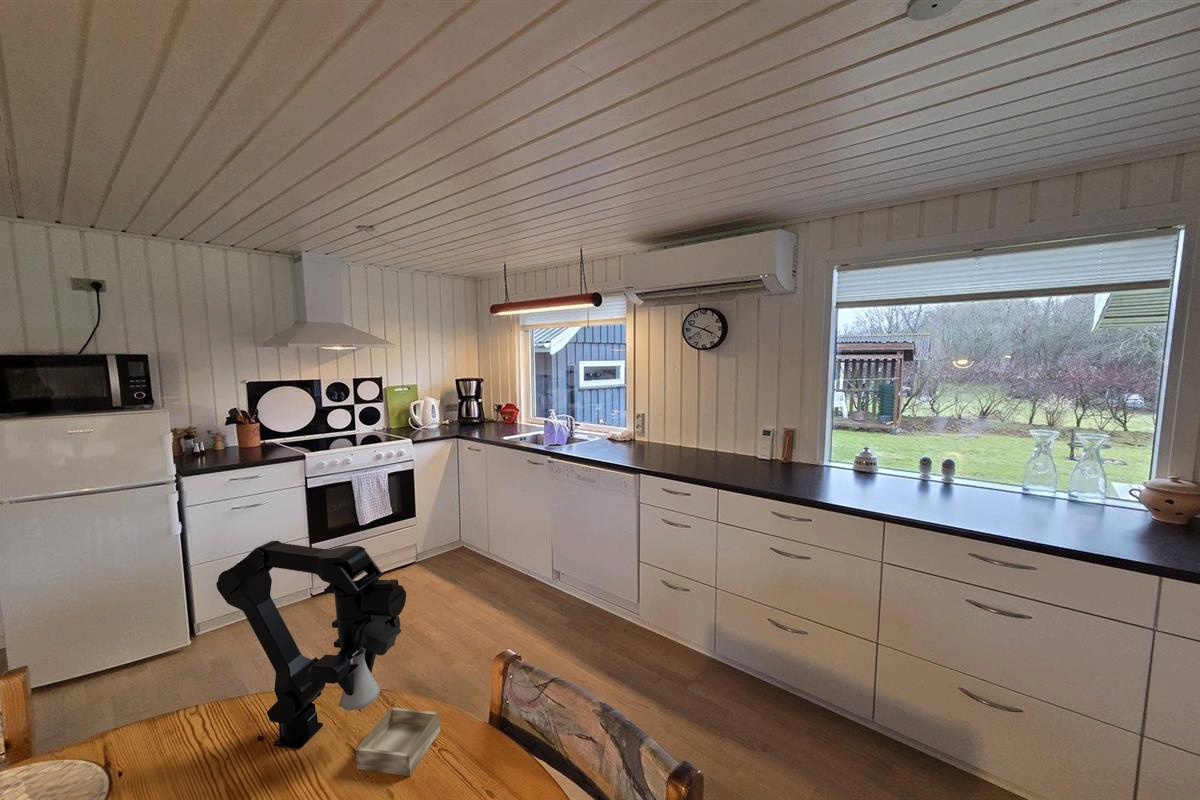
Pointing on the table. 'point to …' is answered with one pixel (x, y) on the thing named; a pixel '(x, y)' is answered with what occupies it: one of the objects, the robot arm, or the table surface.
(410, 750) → the crate
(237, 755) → the table surface
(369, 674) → the flask
